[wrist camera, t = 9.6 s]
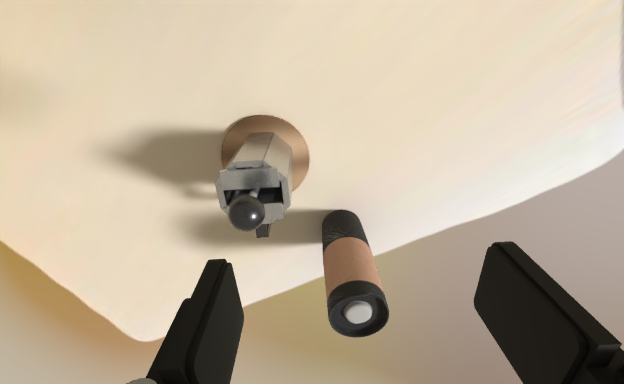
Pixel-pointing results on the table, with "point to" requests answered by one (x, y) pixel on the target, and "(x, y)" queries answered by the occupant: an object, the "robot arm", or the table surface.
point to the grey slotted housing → (259, 176)
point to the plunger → (247, 211)
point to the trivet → (268, 126)
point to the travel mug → (351, 278)
